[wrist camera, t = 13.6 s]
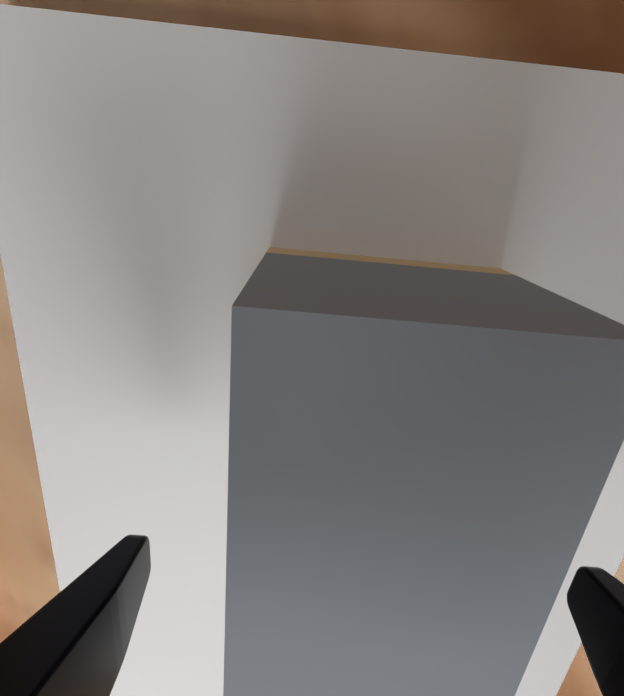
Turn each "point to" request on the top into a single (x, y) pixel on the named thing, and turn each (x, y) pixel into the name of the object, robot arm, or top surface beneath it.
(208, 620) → the board
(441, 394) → the block
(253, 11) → the top surface
